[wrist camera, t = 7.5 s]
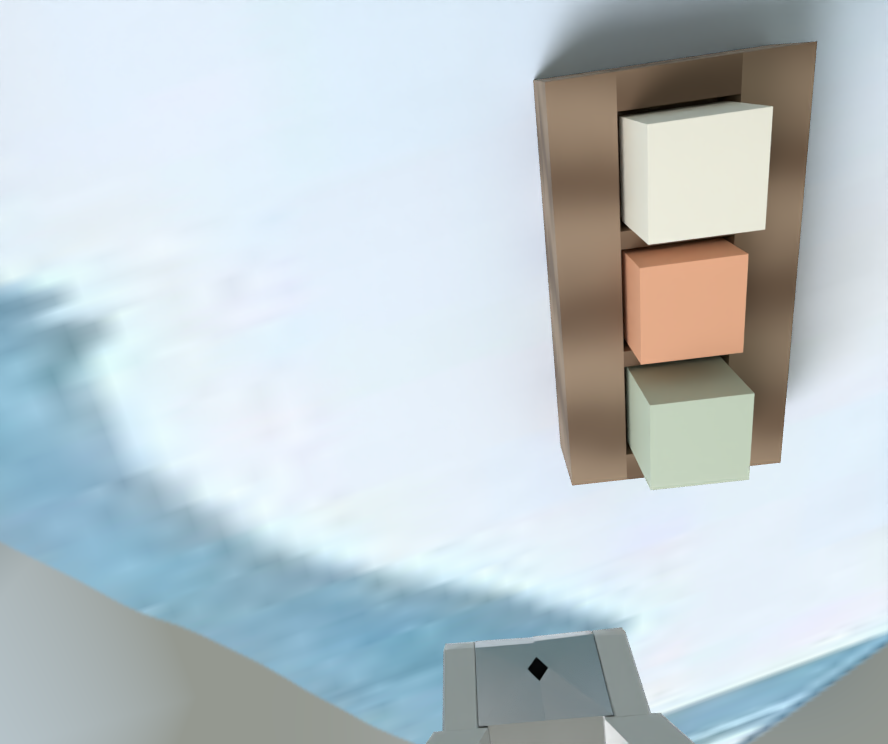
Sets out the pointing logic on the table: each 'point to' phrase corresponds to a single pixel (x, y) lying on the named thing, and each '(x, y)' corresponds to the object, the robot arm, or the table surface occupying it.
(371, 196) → the table surface
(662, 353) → the terracotta key
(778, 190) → the board
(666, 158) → the cream key
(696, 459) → the sage key
